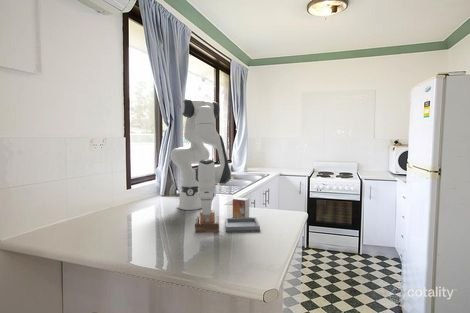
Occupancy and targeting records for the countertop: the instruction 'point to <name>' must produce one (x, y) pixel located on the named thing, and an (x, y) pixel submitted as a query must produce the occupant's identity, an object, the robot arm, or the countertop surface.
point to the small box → (241, 207)
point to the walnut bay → (206, 226)
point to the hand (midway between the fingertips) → (207, 220)
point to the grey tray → (241, 224)
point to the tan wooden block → (211, 217)
